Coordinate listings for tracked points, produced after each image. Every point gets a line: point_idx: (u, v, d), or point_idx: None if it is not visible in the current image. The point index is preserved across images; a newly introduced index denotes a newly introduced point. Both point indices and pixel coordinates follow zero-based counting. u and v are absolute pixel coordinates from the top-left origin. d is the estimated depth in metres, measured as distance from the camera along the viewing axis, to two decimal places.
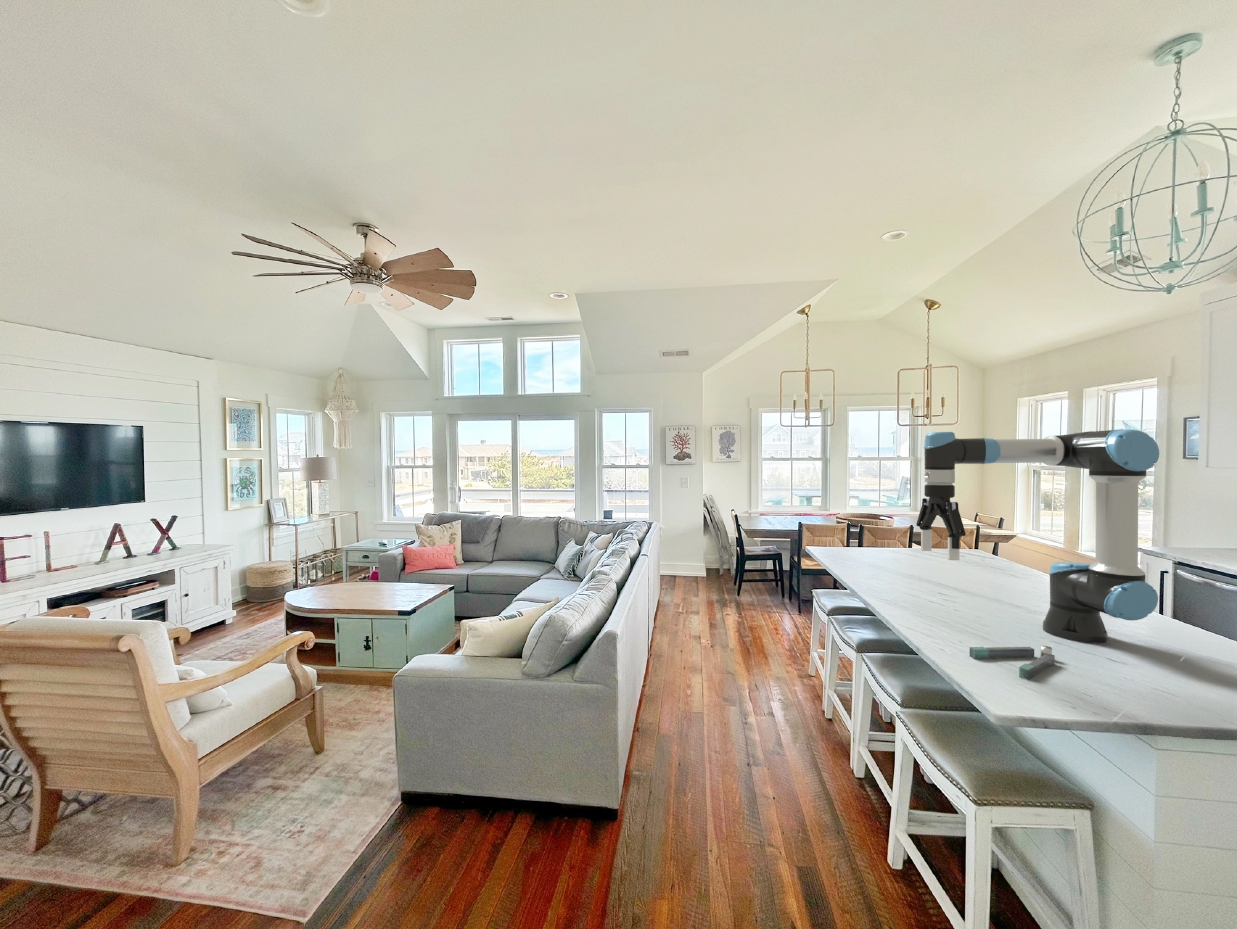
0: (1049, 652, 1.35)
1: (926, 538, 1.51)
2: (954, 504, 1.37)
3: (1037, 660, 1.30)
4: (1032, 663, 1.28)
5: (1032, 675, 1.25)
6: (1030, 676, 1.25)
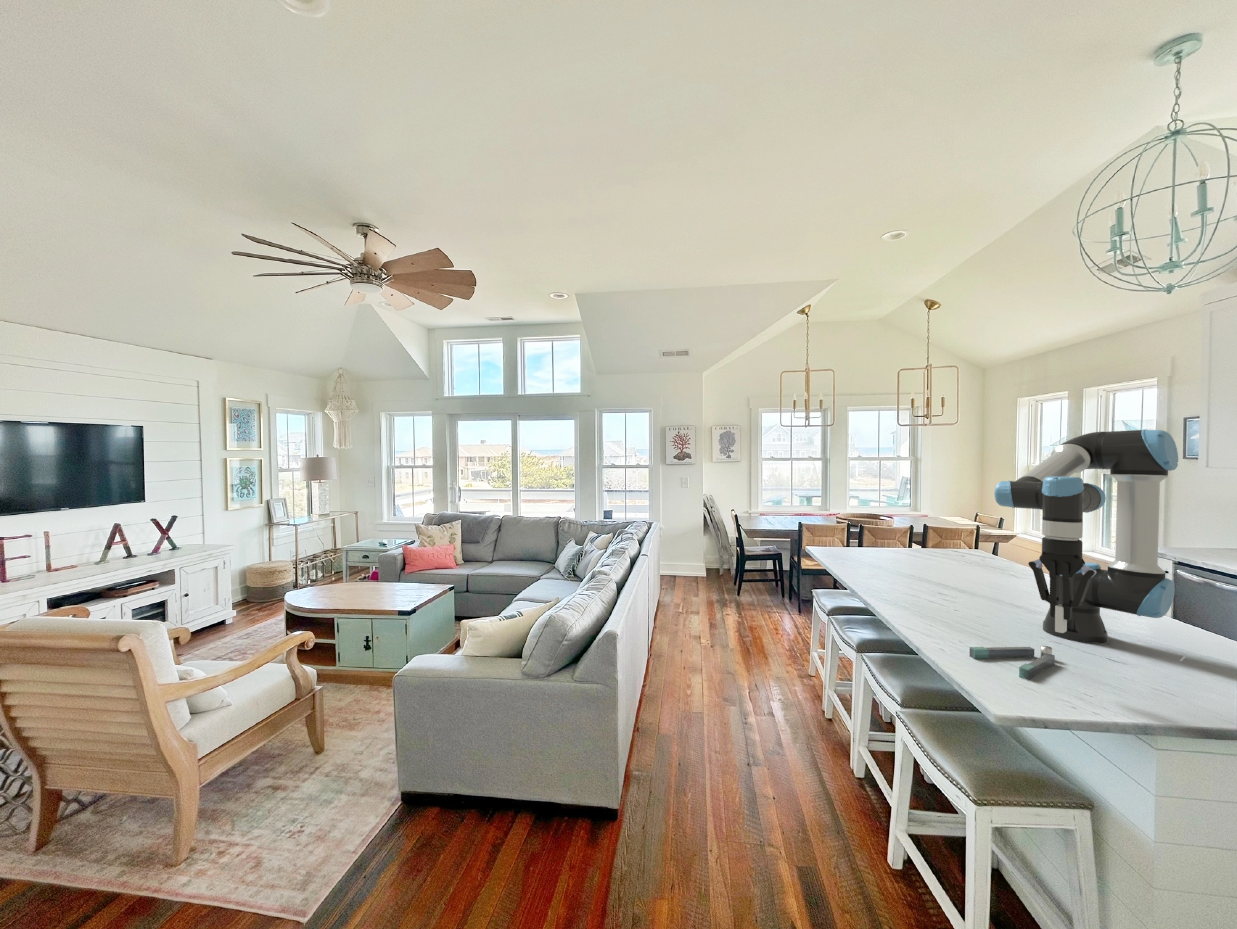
0: (1049, 652, 1.35)
1: None
2: None
3: (1037, 660, 1.30)
4: (1032, 663, 1.28)
5: (1032, 675, 1.25)
6: (1030, 676, 1.25)
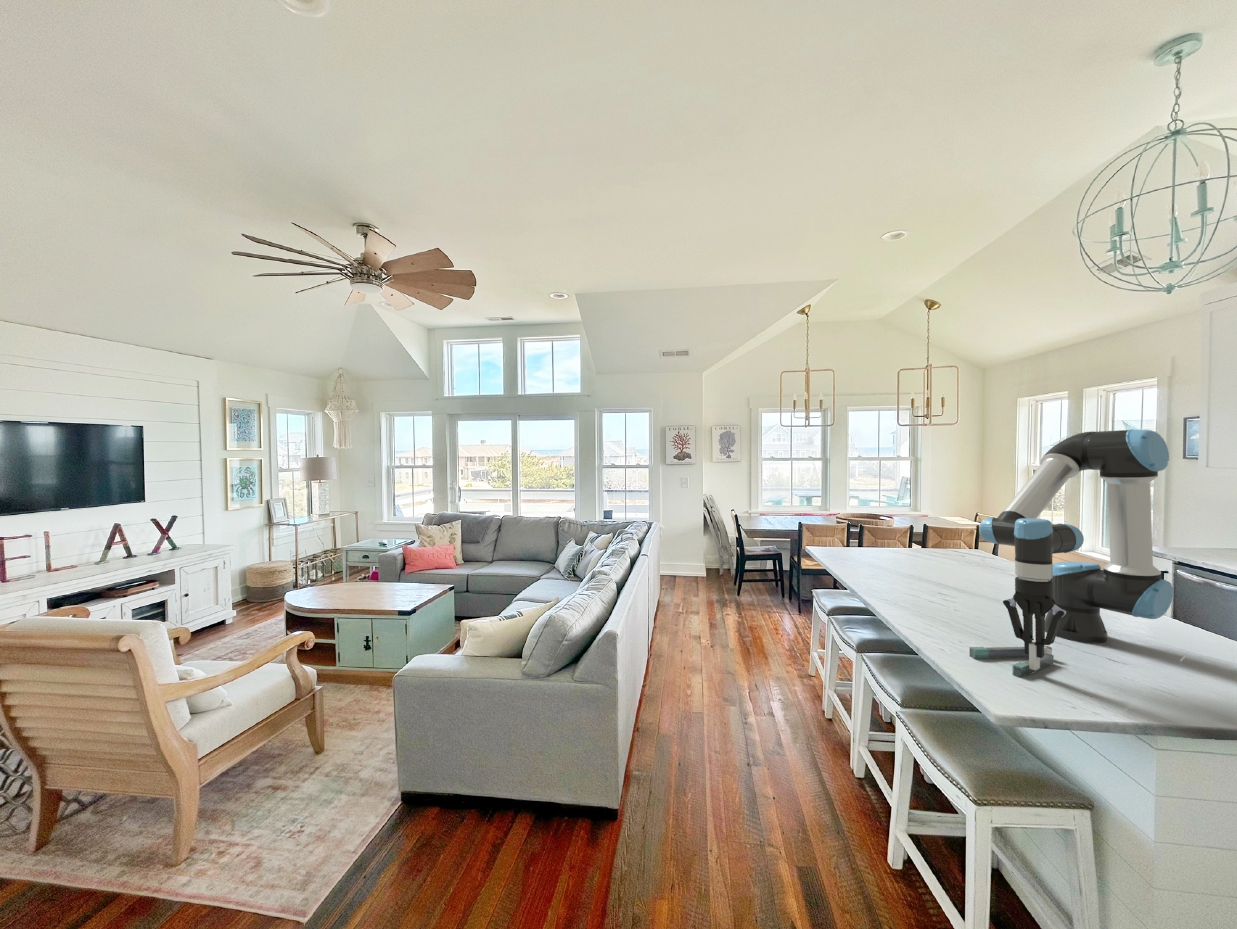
0: (1049, 652, 1.35)
1: None
2: None
3: None
4: (1027, 662, 1.29)
5: (1026, 673, 1.26)
6: (1023, 674, 1.26)
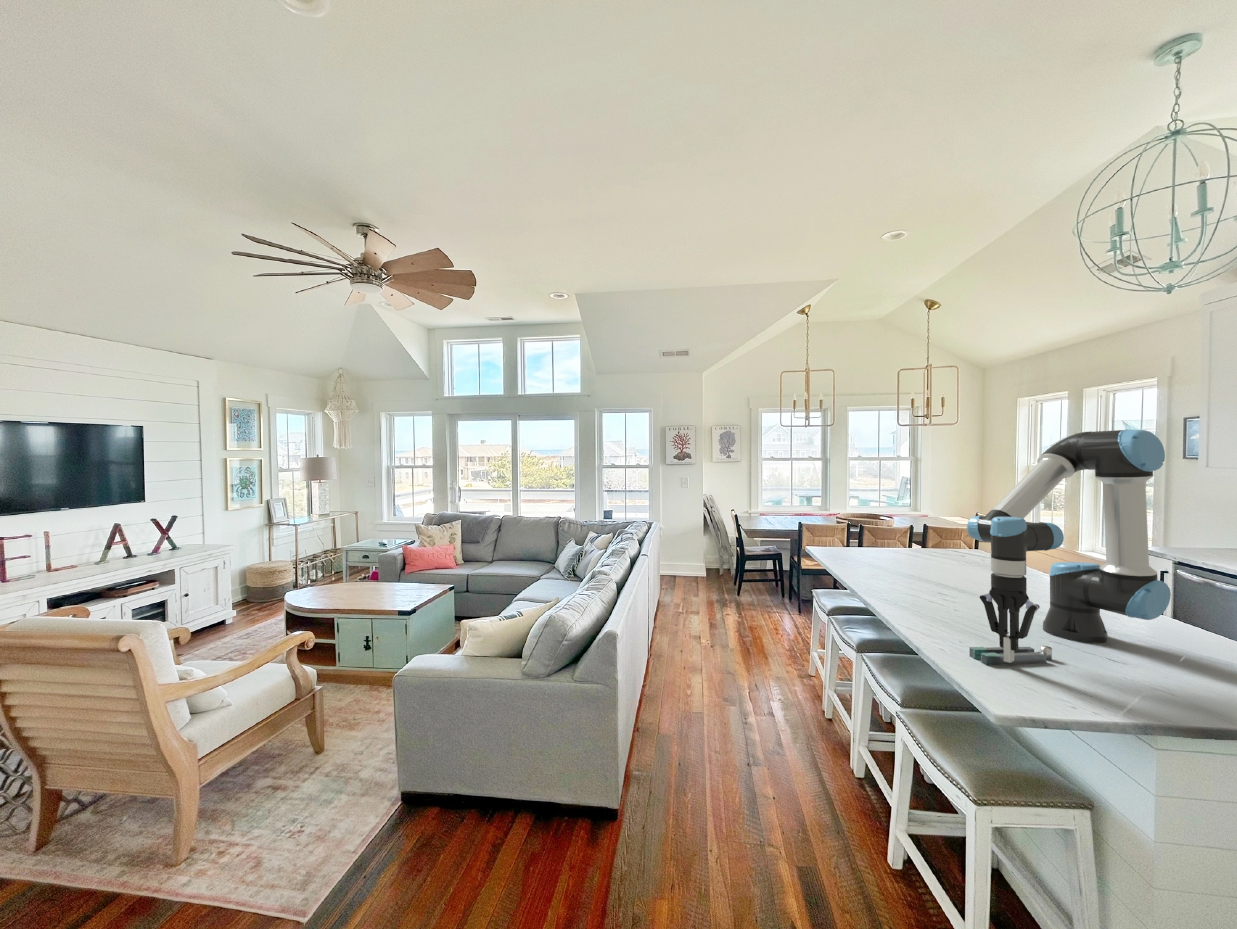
0: (1049, 652, 1.35)
1: None
2: None
3: (1016, 653, 1.34)
4: (1003, 654, 1.34)
5: (995, 663, 1.33)
6: (991, 663, 1.33)
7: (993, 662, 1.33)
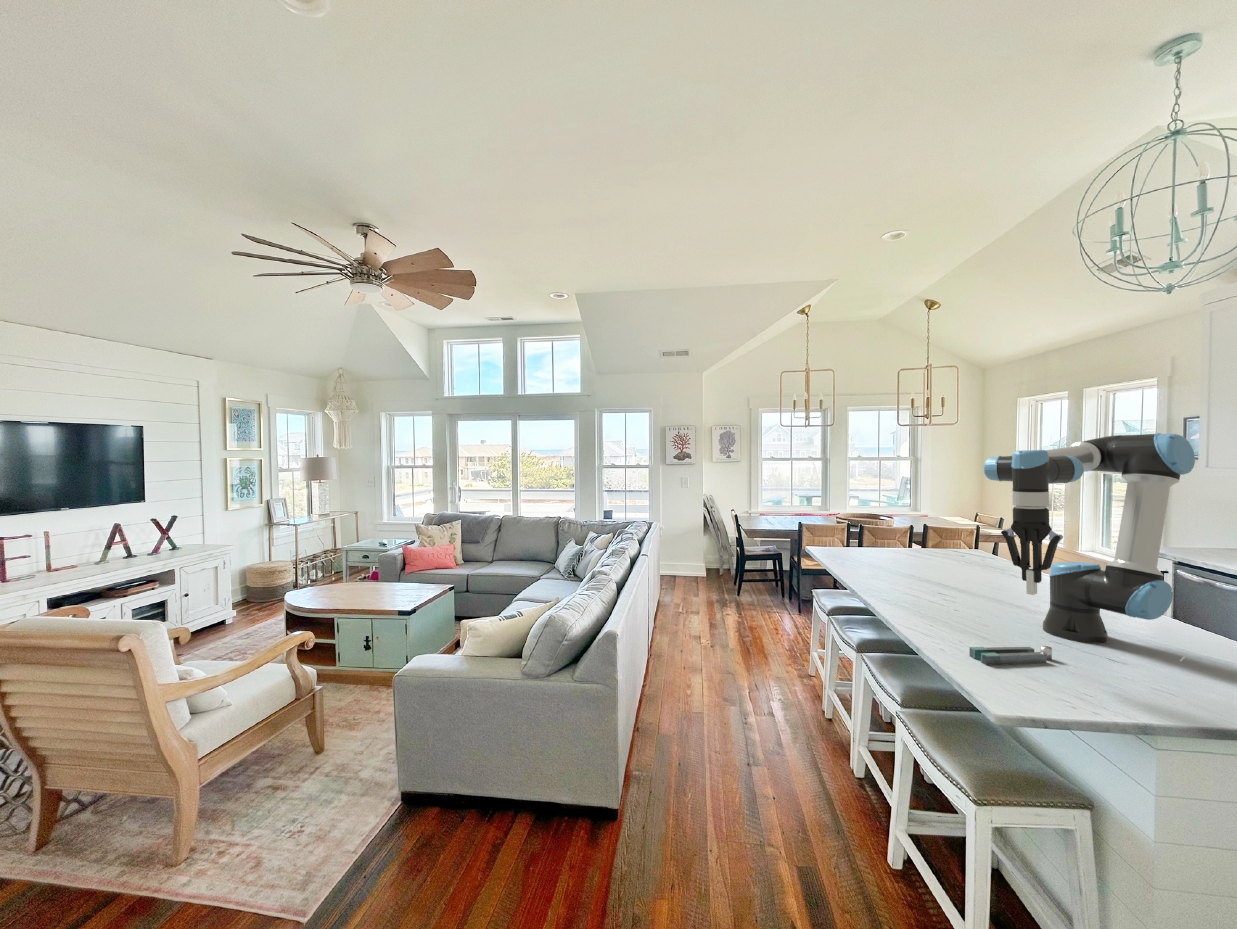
0: (1049, 652, 1.35)
1: None
2: None
3: (1016, 653, 1.34)
4: (1003, 654, 1.34)
5: (995, 663, 1.33)
6: (991, 663, 1.33)
7: (993, 662, 1.33)
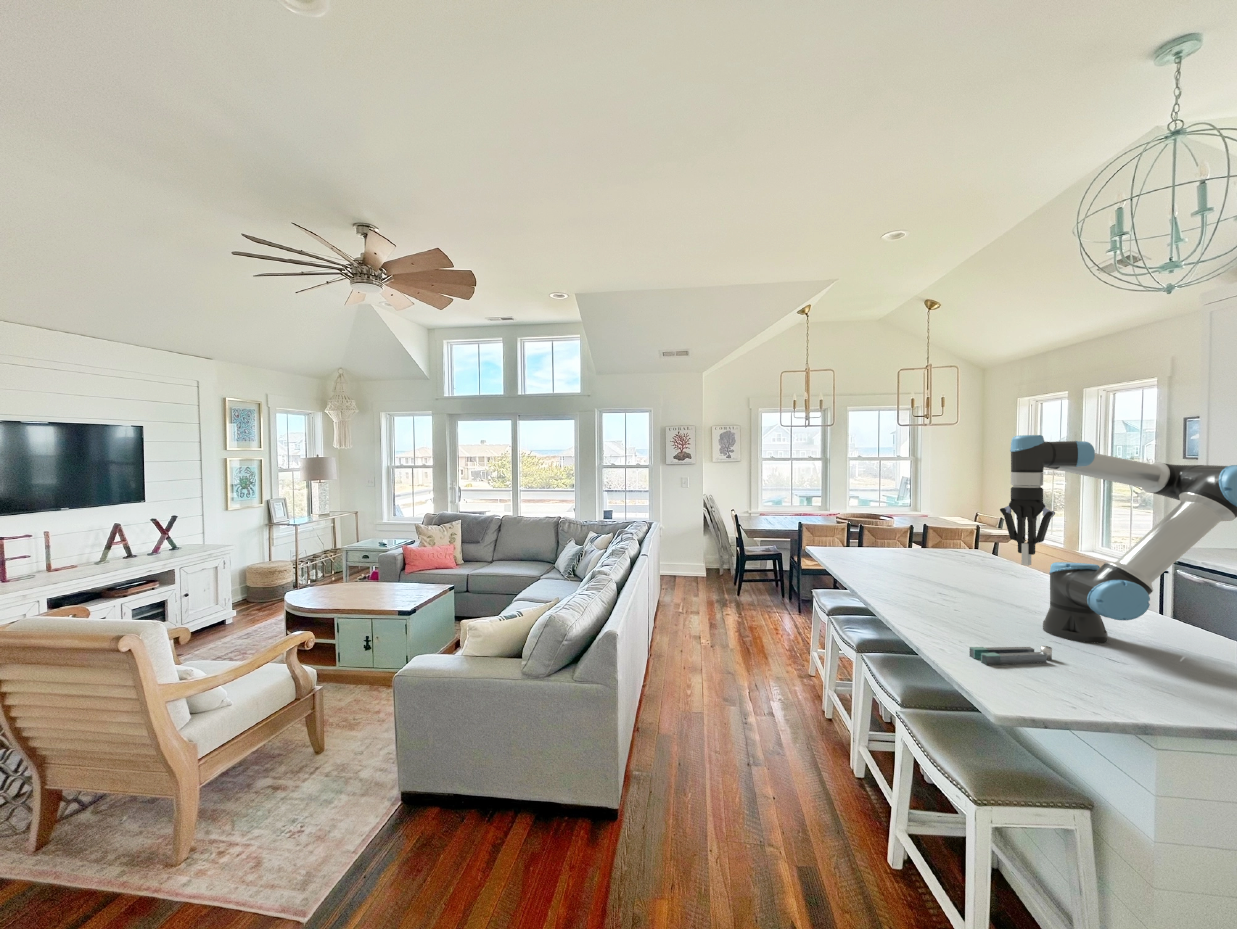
0: (1049, 652, 1.35)
1: None
2: None
3: (1016, 653, 1.34)
4: (1003, 654, 1.34)
5: (995, 663, 1.33)
6: (991, 663, 1.33)
7: (993, 662, 1.33)
